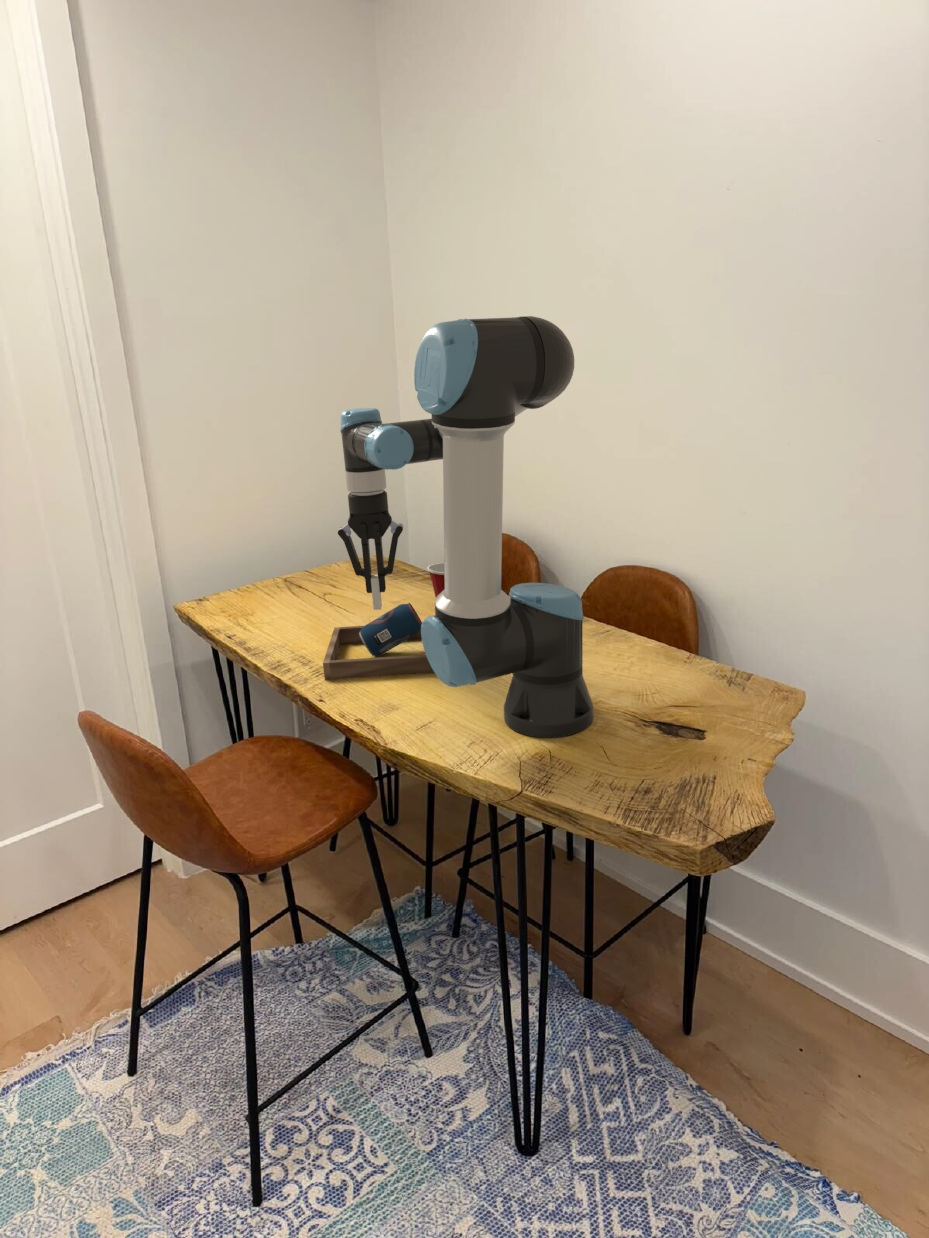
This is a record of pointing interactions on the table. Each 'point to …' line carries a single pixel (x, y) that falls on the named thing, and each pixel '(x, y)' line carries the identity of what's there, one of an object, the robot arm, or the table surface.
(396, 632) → the soda can
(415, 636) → the walnut tray frame
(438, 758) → the table surface
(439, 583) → the plastic cup
